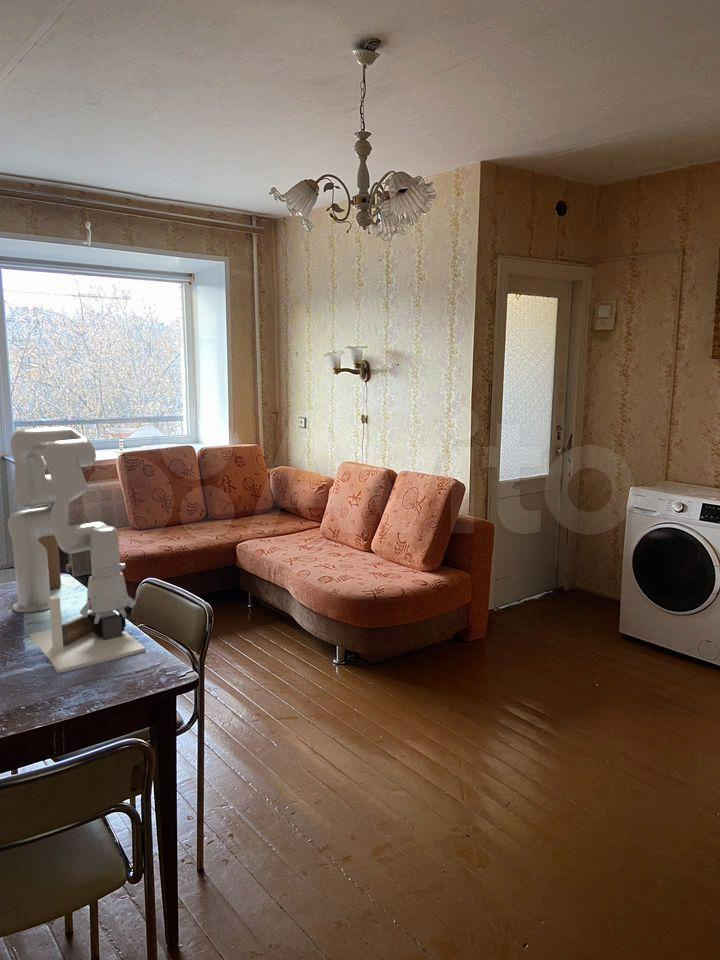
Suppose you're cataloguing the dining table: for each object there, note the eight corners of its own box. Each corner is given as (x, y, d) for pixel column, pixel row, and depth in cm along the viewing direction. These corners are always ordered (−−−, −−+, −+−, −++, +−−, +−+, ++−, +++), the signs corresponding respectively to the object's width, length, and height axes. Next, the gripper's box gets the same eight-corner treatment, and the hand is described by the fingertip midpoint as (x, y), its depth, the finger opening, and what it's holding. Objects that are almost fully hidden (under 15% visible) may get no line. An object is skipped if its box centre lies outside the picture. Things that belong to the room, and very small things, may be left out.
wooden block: (29, 592, 238) (25, 535, 235) (28, 584, 247) (24, 529, 244) (61, 588, 243) (57, 532, 240) (59, 580, 252) (55, 526, 249)
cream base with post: (28, 637, 199) (24, 586, 196) (108, 620, 212) (105, 572, 210) (58, 673, 175) (53, 616, 173) (145, 651, 189) (142, 598, 187)
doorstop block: (95, 632, 200) (93, 613, 199) (112, 628, 203) (111, 609, 202) (104, 640, 194) (103, 621, 193) (122, 636, 197) (121, 617, 196)
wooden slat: (61, 644, 190) (60, 625, 189) (99, 626, 204) (98, 608, 203) (65, 645, 190) (64, 626, 189) (103, 626, 203) (102, 608, 203)
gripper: (131, 562, 203) (135, 622, 206) (70, 573, 192) (74, 636, 195) (141, 568, 197) (144, 629, 200) (78, 579, 187) (82, 644, 189)
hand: (109, 632), depth 197 cm, fingers open, 5 cm apart
